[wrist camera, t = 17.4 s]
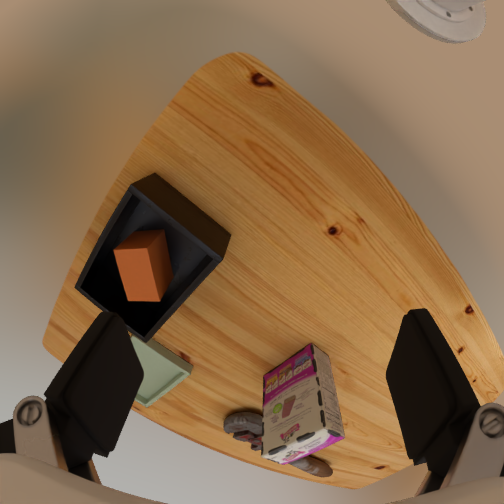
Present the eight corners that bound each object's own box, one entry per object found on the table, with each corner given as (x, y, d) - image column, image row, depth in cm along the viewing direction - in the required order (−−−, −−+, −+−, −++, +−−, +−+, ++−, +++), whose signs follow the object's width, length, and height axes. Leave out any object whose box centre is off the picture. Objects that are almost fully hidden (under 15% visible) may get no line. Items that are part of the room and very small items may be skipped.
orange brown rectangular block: (133, 231, 37) (113, 249, 31) (164, 229, 36) (146, 248, 31) (144, 277, 40) (128, 300, 34) (173, 277, 39) (160, 301, 34)
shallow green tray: (137, 327, 45) (133, 335, 43) (193, 365, 48) (190, 374, 46) (103, 370, 51) (100, 377, 49) (149, 400, 54) (147, 407, 52)
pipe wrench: (212, 418, 55) (209, 437, 50) (254, 398, 51) (253, 419, 46) (320, 469, 65) (321, 483, 61) (357, 454, 61) (359, 469, 57)
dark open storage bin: (154, 172, 34) (130, 183, 28) (231, 234, 37) (223, 258, 31) (97, 264, 41) (74, 287, 34) (160, 314, 43) (146, 343, 37)
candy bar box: (282, 387, 49) (283, 466, 34) (262, 375, 48) (258, 457, 33) (331, 355, 45) (346, 439, 30) (311, 340, 44) (323, 429, 29)
